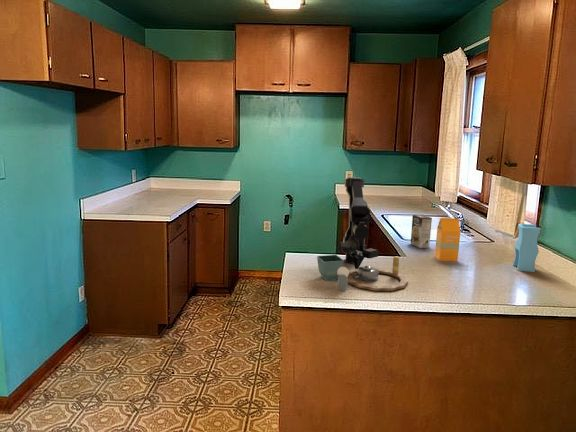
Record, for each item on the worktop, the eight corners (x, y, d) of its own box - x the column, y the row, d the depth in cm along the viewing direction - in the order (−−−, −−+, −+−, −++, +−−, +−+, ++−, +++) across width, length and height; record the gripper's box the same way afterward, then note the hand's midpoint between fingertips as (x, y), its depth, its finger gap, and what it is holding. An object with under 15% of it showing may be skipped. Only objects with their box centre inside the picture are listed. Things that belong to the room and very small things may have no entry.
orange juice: (457, 261, 224) (461, 220, 220) (439, 260, 224) (442, 219, 220) (452, 256, 231) (456, 216, 228) (434, 256, 232) (437, 216, 228)
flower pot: (323, 283, 190) (323, 261, 188) (316, 276, 198) (316, 255, 196) (343, 281, 192) (344, 260, 190) (335, 274, 200) (336, 254, 199)
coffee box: (409, 243, 255) (412, 214, 251) (420, 243, 256) (422, 214, 253) (419, 248, 246) (421, 217, 243) (429, 247, 248) (432, 217, 245)
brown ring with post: (356, 267, 209) (357, 249, 208) (412, 276, 199) (413, 257, 197) (338, 284, 188) (338, 264, 186) (399, 294, 177) (400, 274, 176)
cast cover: (361, 274, 202) (361, 262, 201) (380, 277, 199) (381, 265, 198) (355, 279, 195) (355, 267, 194) (375, 283, 191) (375, 270, 190)
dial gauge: (338, 287, 185) (339, 264, 183) (349, 289, 183) (350, 266, 182) (336, 289, 183) (336, 266, 181) (346, 291, 181) (347, 268, 179)
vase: (535, 271, 210) (541, 228, 206) (516, 270, 211) (522, 227, 207) (530, 266, 217) (536, 224, 213) (512, 265, 219) (517, 223, 215)
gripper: (329, 231, 200) (327, 266, 203) (361, 240, 186) (359, 278, 189) (347, 228, 207) (346, 262, 210) (380, 236, 193) (378, 273, 196)
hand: (356, 269), depth 201 cm, fingers closed
